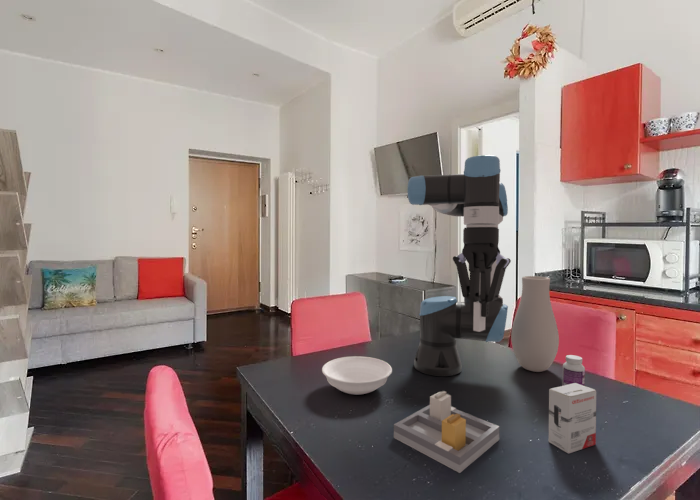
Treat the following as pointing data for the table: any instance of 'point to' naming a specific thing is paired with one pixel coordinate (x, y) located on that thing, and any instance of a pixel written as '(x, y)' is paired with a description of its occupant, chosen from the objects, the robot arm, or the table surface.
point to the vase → (535, 326)
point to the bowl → (357, 374)
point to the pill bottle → (573, 371)
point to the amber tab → (454, 431)
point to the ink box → (572, 417)
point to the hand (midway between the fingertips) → (479, 329)
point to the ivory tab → (440, 405)
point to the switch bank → (428, 438)
